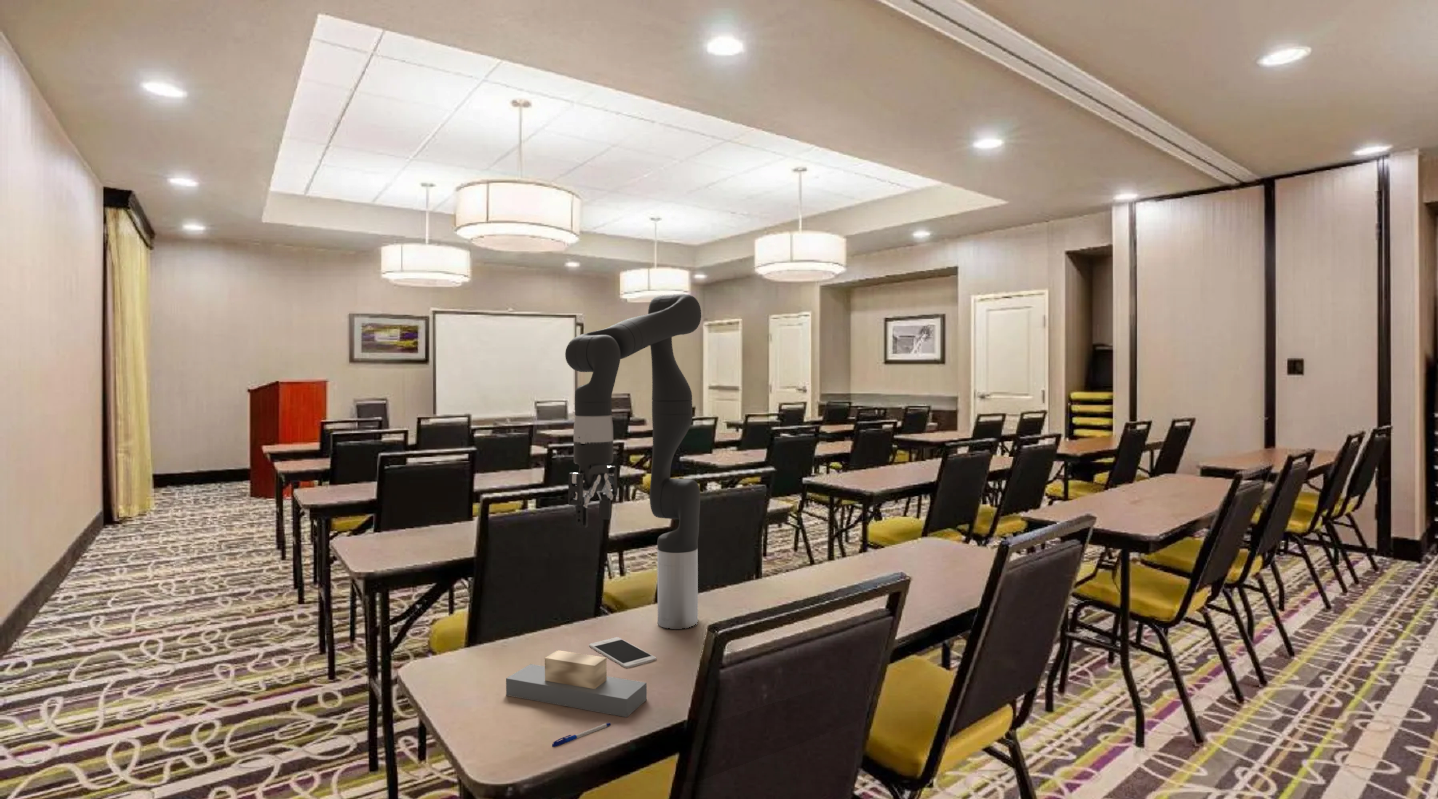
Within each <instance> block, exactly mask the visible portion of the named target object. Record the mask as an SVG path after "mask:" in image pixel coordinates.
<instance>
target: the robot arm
mask: <svg viewBox="0 0 1438 799" xmlns="http://www.w3.org/2000/svg"><path fill="white" fill-rule="evenodd" d="M701 321H702V310H701V305H700V302H699V301H698V299H697V297H695V296H693V295H691V294H687V293H676V294H674V293H673V294H661V295H655V296H654V297H653V298H652V299H651V300H650V302H649V305H648V309H647V314H642V315H639V316H634V317H633V316H632V317H630V318H626V319H624V320H622V321H619V322H616V323H615V324H611V326H609V327H605V328H603V329H602V328H601V329H598V330H594V331H589V332H585V333H582V334H579V335H576V336H575V337H574V338H572V339H571V340H570V341H569V342H568V344H567V346H566V348H565V352H564V353H565V354H564V355H565V356H564V357H565V361H566V363H567V365H568V366H569V367H570V368H571V369H573V370H574V371H577V372H580V373H592V375H591V378H590V381H589V382H588V383H585V384H583V385H579V386H577V387H576V389H575V392H574V422H573V463H574V464H575V465H578V467H579V468H578V472H569V473H568V482H567V483H568V486H567V488H568V490H567V491H568V492H567V493H568V494H567V504H568V505H569V506H573V507H574V508H575V525H576V527H577V528H583V529H585V528H587V527H588V526H589V507H588V506H589V503H590V501H591V500H590V499H591V498H593V497H594V495H595V494H596V493H597V495H598V497H599V498H598V499H599V502H598V504H599V506H598V507H599V509H598V510H599V519H600V520H606V521H609V520H610V519H611V518H612V501H613V499H614V496H615V497H617V495H618V472H617V466H616V465H610V464H612V463H613V462H614V424H613V416H612V415H613V414H612V413H613V408H612V406H613V404H612V401H613V399H612V394H613V391H614V388H615V383H616V380H617V376H618V371H619V368H620V363H621V360H622V359H626V358H628V357H630V356H632V355H633V354H635V353H638V352H639V351H641V350H643V349H645V348H648V347H649V346H650V355H651V357H650V358H651V379H652V380H651V381H652V382H651V383H652V384H651V386H652V388H651V390H652V392H651V417H652V418H651V419H652V420H651V423H652V456H651V469H650V470H651V473H650V486H649V504H650V511H651V513H652V515H653V516H654V517H656V518H658V519H669V520H671V519H672V520H679V523H678V527H677V528H676V529H675V530H672V531H668V532H665V533H662V534H660V535H659V536H658V537H657V542H656V544H657V548H656V550H657V551H656V552H657V554H656V555H657V561H656V562H657V625H658V626H659V627H660V628H664V629H668V628H670V630H683V629H682V628H685V629H689V627H690V628H692V627H691V626H693V625H695V624H696V625H698V623H697V622H699V618H698V616H699V615H698V614H699V613H698V612H699V609H698V608H699V606H698V605H699V604H698V603H699V590H698V589H699V588H698V587H699V585H698V584H699V583H698V582H699V581H698V579H699V576H698V575H699V571H698V570H699V569H698V568H699V564H698V563H699V562H698V555H699V554H698V553H699V552H698V548H699V547H698V544H699V543H698V542H699V534H700V513H701V512H700V511H701V490H700V487H699V484H698V482H697V481H696V480H694V479H691V478H688V479H687V478H675V477H674V478H673V477H672V478H671V468H672V462H673V459H674V455H675V454H676V451H677V449H678V448H679V447H680V444H681V443H682V441H683V439H685V436H686V435H687V433H688V432H689V429H690V428H691V426H692V422H693V393H692V389H691V387H690V384H689V382H688V380H687V378H686V376H685V375H684V374H683V372H682V370H681V368H680V367H679V364H678V363H677V361H676V358H675V355H674V349H673V339H672V338H673V337H676V336H681V335H682V336H685V335H688V334H691V333H693V332H695V331H696V330H697V329H698V328H699V326H700V323H701ZM574 495H575V496H574ZM696 625H695V626H696ZM693 627H694V626H693Z"/></svg>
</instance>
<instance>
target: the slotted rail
mask: <svg viewBox="0 0 1438 799" xmlns="http://www.w3.org/2000/svg"><path fill="white" fill-rule="evenodd" d="M505 679H506V680H505V690H506V692H505V695H506V696H508V697H509V696H510V697H514V698H519V699H525V700H530V701H537V702H542V703H548V704H552V705H558V706H565V707H567V708H568V707H569V708H575V709H580V710H585V711H591V712H595V713H597V712H598V713H602V714H607V715H613V716H619V717H623V718H628V717H629V716H630V715H631V714H632V713H634V711H636V710H637V709H638V708H639V707H641V705H643V703H644V702H645V703H646V701H647V698H648V697H647V694H648V692H647V691H648V690H647V689H648V688H647V687H648V686H647V685H648V684H647V682H645V681H639V680H632V679H628V678H627V679H626V678H620V677H615V676H608V675H607V680H606V681H605V682H604V683H602V684H601V685H600V686H598V687H597V688H596V689H590V688H585V687H579V686H573V685H568V684H562V683H554V682H550V681H545V665H539V664H533V663H530V664H529V665H526V666H524V667H523V668H521V669H519V670H518V671H516V672H515V673H513V674H511V675H509V676H508V677H506V678H505Z"/></svg>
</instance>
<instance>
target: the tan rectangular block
mask: <svg viewBox="0 0 1438 799" xmlns="http://www.w3.org/2000/svg"><path fill="white" fill-rule="evenodd" d="M607 658H608V657H606V656H598V655H592V654H586V653H585V654H584V653H578V652H573V651H566V650H557V649H556V651H554V652H552V653H550V654H549V655H548V656H545V657H544V666H545V681H550V682H554V683H562V684H568V685H573V686H579V687H585V688H590V689H596V688H597V687H598V686H600V685H601V684H602V683H604V682H605V681H606V680H607V676H608V675H607V671H608V670H607V668H608V667H607V666H608V665H607V661H608V660H607Z"/></svg>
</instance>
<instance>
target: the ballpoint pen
mask: <svg viewBox="0 0 1438 799" xmlns="http://www.w3.org/2000/svg"><path fill="white" fill-rule="evenodd" d="M611 724H612V723H611V722H607V723H603V724H600V725H598V726H595V727H592V728H590V729H587V730H585V731H582V732H579V733H576V734H573V735H572V734H569V735H566V736H563V737H561V738H558V739H557V740H554V741H553V742H552V745H551V747H552V748H556V747H558V746H561V745H564V744H567V743H570V742H572V741H574V740H577V739H579V738H581V737H585V736H587V735H590V734H593V733H594V732H598V731H600V730H603V729H605V728H608V727H610V726H611Z"/></svg>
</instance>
